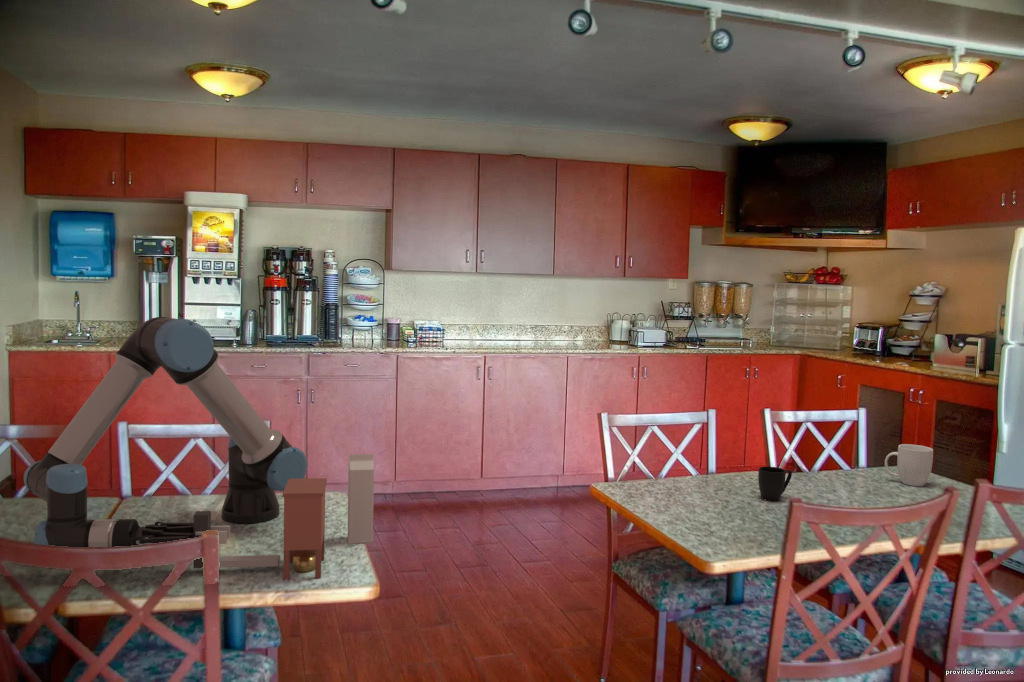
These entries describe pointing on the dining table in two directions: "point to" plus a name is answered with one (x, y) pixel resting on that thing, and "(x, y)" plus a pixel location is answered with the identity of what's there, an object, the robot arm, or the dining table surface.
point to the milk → (360, 498)
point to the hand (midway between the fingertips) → (227, 534)
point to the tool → (204, 523)
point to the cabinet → (304, 521)
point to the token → (304, 562)
